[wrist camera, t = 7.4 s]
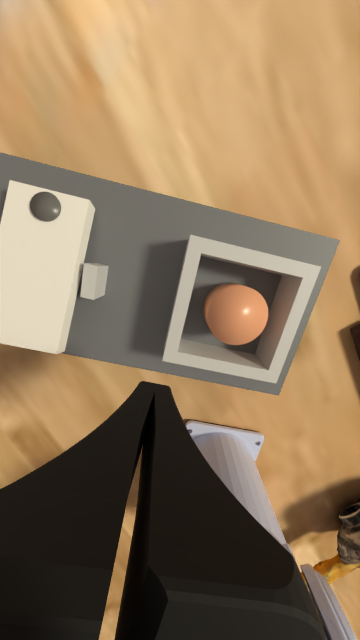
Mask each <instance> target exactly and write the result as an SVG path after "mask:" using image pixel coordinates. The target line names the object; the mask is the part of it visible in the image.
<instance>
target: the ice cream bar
mask: <svg viewBox="0 0 360 640" xmlns="http://www.w3.org/2000/svg"><path fill="white" fill-rule="evenodd" d="M350 330H351V333H352V337H353V340H354V343H355V346H356V350H357V353H358V356H359V360H360V324H358V325H356V326H355V327H353V328H351V329H350Z"/></svg>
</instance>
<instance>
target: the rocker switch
mask: <svg viewBox="0 0 360 640" xmlns="http://www.w3.org/2000/svg"><path fill="white" fill-rule="evenodd" d="M94 213H95V208H94V206H93V204H92V203H91V201H90V200H88V199H84V198H80V197H76V196H72V195H68V194H64V193H60V192H56V191H52V190H48V189H44V188H40V187H36V186H32V185H28V184H24V183H20V182H16V181H12V180H10V181H9V186H8V190H7V195H6V200H5V204H4V209H3V214H2V218H1V223H0V343H1V344H6V345H11V346H17V347H22V348H27V349H32V350H37V351H42V352H48V353H53V354H59V353H62V352H64V351H65V348H66V343H67V339H68V334H69V329H70V325H71V320H72V315H73V311H74V306H75V301H76V297H77V292H78V287H79V283H80V278H81V273H82V269H83V264H84V259H85V255H86V250H87V245H88V241H89V236H90V231H91V227H92V222H93V217H94Z"/></svg>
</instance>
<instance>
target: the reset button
mask: <svg viewBox="0 0 360 640" xmlns="http://www.w3.org/2000/svg"><path fill="white" fill-rule="evenodd" d="M203 315H204V318H205V320H206V322H207V324H208V326H209V328H210V330H211V332H212V333H213V335H214V336H215V337H216V338H217V339H218V340H220V341H222V342H224V343H226V344H230V345H242V344H246V343H248V342H250V341H252V340H254V339H255V338H256V337H258V336H259V335H260V334H261V332H262V331H263V330H264V328H265V326H266V324H267V320H268V307H267V304H266V301H265V299H264V298H263V297H262V295H261V294H260V293H259V292H257V291H256V290H254V289H252V288H249V287H246V286H243V285H240V284H237V283H233V282H228V283H222V284H220V285H218V286H216V287H214V288H213V289H212V290H211V291H210V292H209V293H208V294H207V296H206V298H205V300H204V303H203Z"/></svg>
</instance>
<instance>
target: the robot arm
mask: <svg viewBox="0 0 360 640" xmlns="http://www.w3.org/2000/svg"><path fill="white" fill-rule="evenodd" d="M189 429H191V430H190V431H189ZM257 441H258V442H257ZM263 441H264V436H263V434H262V433H259V432H253V431H248V430H242V429H237V428H231V427H225V426H220V425H214V424H209V423H203V422H198V421H192V420H190V421H188V422H187V423H186V425H185V424H184V422H183V419H182V417H181V415H180V413H179V411H178V408H177V406H176V403H175V401H174V398H173V395H172V392H171V389H170V387H169V386H166V385H161V384H155V383H150V382H145V381H142V382H140V383H139V384H138V386H137V388H136V389H135V390H134V392H133V393H132V394H131V395H130V396H129V398H128V399H127V400H126V401H125V402H124V403H123V404H122V405H121V406H120V407H119V408H118V409H117V410H116V411H115V412H114V413H113V414H112V415H111V416H110V417H109V418H108V419H107V420H106V421H104V422H103V423H102V424H101V425H100V426H99V427H97V428H96V429H95V430H94V431H92V432H91V433H90V434H89V435H87V436H86V437H85V438H83V439H82V440H81V441H79V442H78V443H76V444H75V445H74V446H72V447H71V448H69V449H68V450H66V451H65V452H63V453H62V454H60V455H59V456H57V457H56V458H54V459H53V460H51V461H49V462H48V463H46V464H44V465H43V466H41V467H39V468H38V469H36V470H34V471H33V472H31V473H29V474H28V475H26V476H24V477H22V478H21V479H19V480H17V481H15V482H13V483H12V484H10V485H8V486H6V487H4V488H2V489H0V640H98V639H99V635H100V630H101V625H102V621H103V616H104V611H105V606H106V601H107V596H108V592H109V587H110V582H111V577H112V572H113V567H114V562H115V557H116V552H117V547H118V542H119V537H120V533H121V528H122V523H123V518H124V513H125V508H126V503H127V498H128V494H129V491H130V487H131V484H132V480H133V477H134V473H135V470H136V466H137V463H138V459H139V456H140V452H141V449H142V445H143V449H142V459H141V470H140V480H139V491H138V502H137V510H136V517H135V523H134V529H133V535H132V541H131V547H130V553H129V559H128V565H127V570H126V576H125V582H124V588H123V594H122V600H121V605H120V611H119V617H118V623H117V628H116V634H115V640H357V638H356V636H355V634H354V632H353V630H352V628H351V626H350V624H349V622H348V620H347V618H346V615H345V613H344V611H343V609H342V607H341V605H340V604H339V602H338V600H337V598H336V596H335V594H334V592H333V590H332V588H331V587H330V585H329V583H328V581H327V580H326V578H325V577H324V576H322V575H321V574H320V573H319V572H317V571H316V570H314V569H313V567H312V566H311V565H310V564H304V565H300V566H301V570H302V573H303V575H304V578H305V581H306V584H307V586H308V588H307V586H306V584H305V581H304V579H303V577H302V575H301V573H300V571H299V568H298V566H297V563H296V561H295V558H294V556H293V553H292V551H291V548H290V546H289V544H287V543H286V541H285V538H284V536H283V533H282V531H281V528H280V525H279V523H278V520H277V518H276V515H275V513H274V510H273V508H272V505H271V503H270V500H269V498H268V495H267V492H266V490H265V487H264V485H263V482H262V480H261V477H260V475H259V472H258V470H257V467H256V464H255V461H256V459H257V456H258V454H259V451H260V449H261V446H262V444H263ZM308 589H309V591H308ZM309 592H310V593H309Z"/></svg>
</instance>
